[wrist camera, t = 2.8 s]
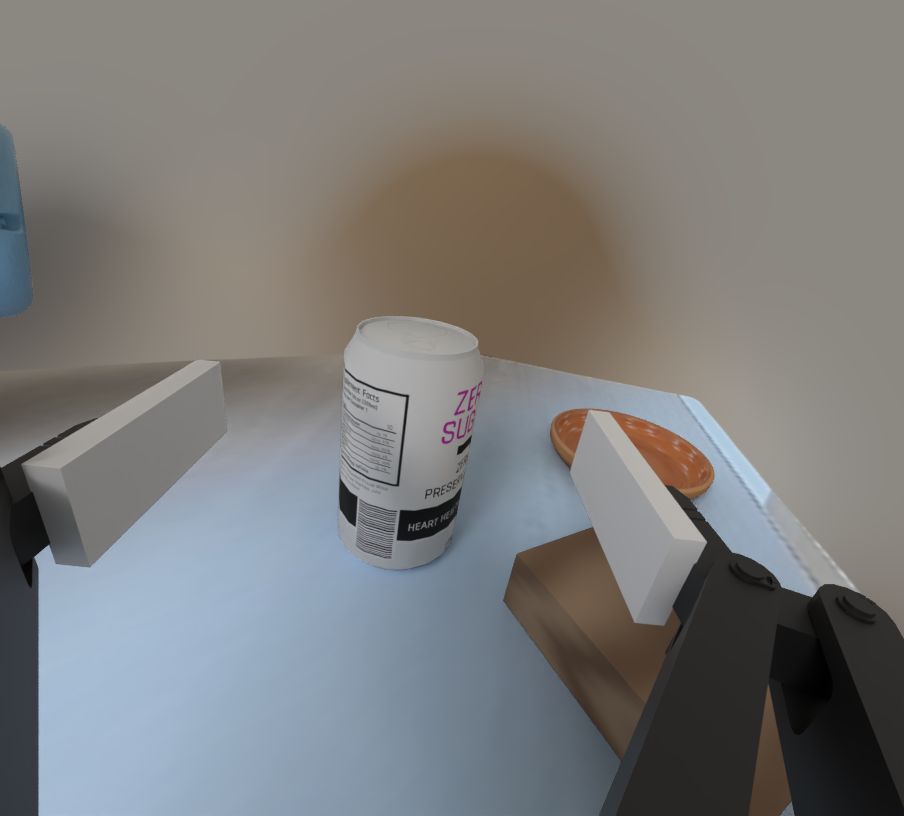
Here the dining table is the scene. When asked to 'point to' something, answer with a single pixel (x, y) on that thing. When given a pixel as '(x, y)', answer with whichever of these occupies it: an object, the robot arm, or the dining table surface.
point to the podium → (612, 649)
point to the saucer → (643, 449)
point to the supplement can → (405, 437)
